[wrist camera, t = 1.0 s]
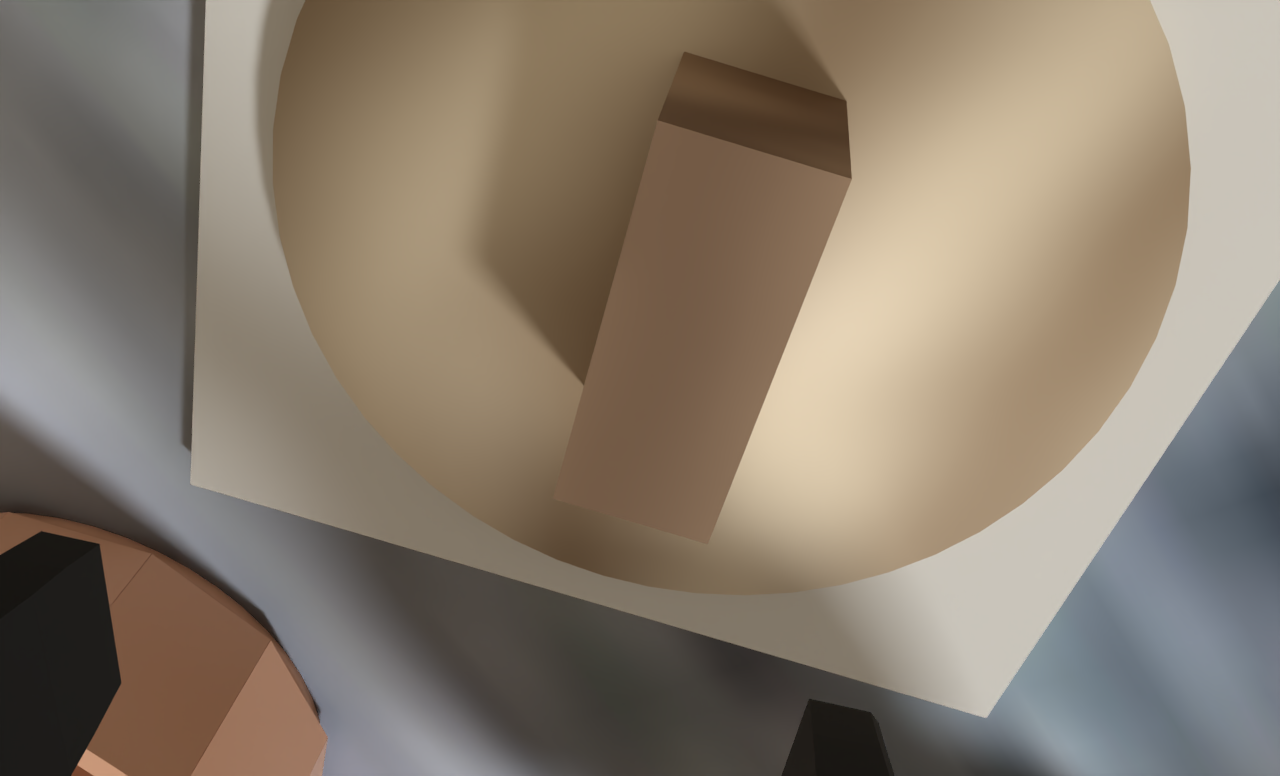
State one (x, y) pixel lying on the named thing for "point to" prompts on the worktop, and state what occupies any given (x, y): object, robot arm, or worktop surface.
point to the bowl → (187, 673)
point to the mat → (770, 623)
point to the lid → (733, 262)
